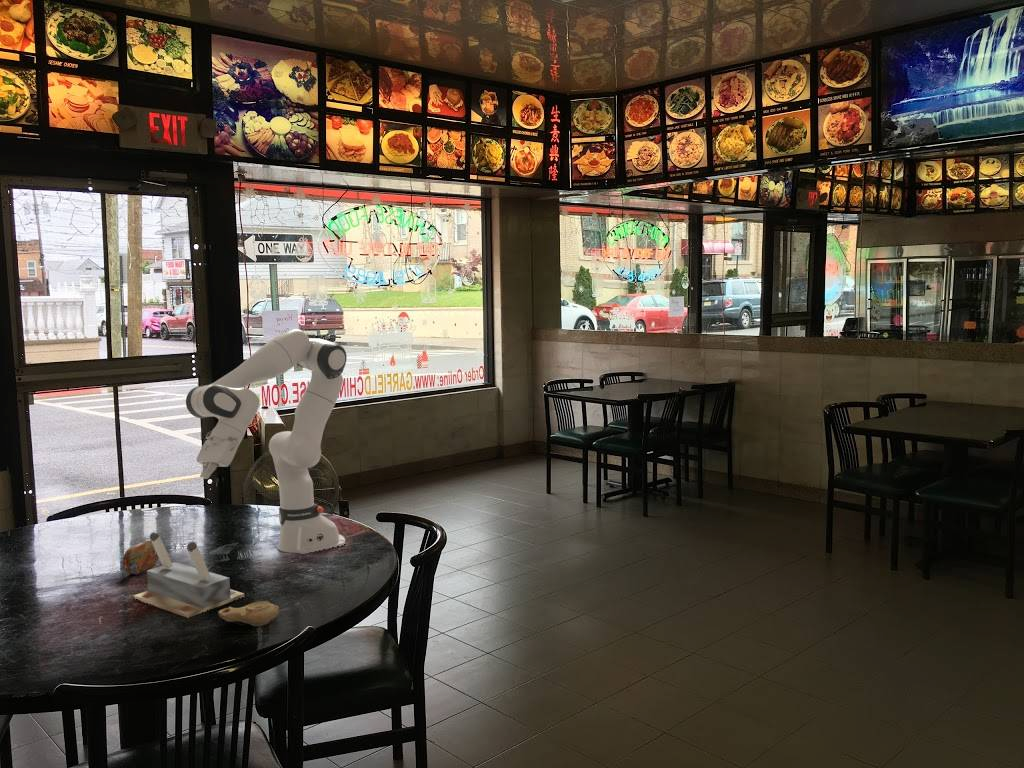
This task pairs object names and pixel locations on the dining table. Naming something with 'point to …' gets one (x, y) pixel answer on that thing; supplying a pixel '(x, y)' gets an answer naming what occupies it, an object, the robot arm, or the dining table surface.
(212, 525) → the dining table surface
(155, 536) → the lever
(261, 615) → the oil lamp
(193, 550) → the lever
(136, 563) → the tin
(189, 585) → the switch box
